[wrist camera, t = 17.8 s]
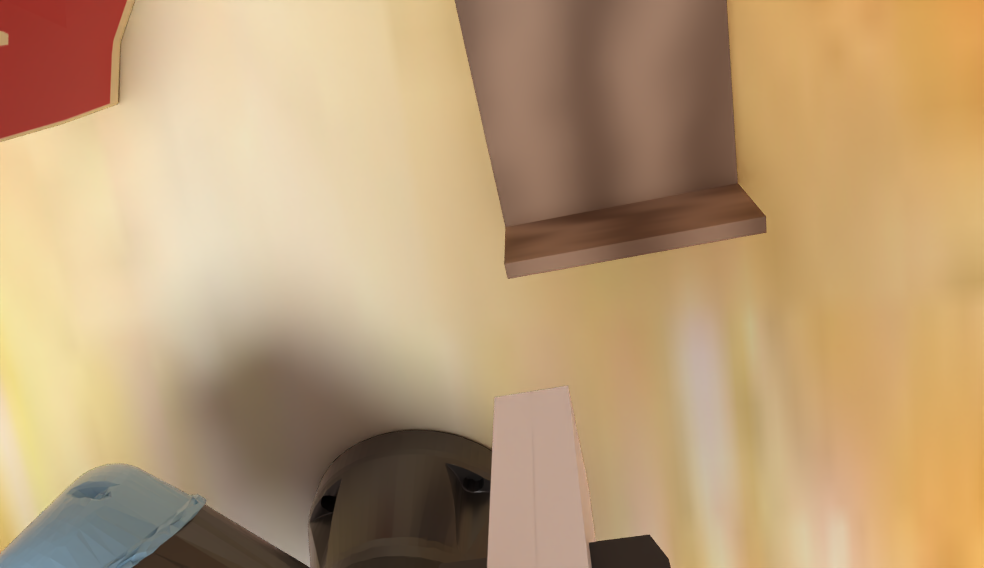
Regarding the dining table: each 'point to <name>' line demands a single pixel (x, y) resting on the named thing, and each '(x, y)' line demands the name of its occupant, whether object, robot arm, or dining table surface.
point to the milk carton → (58, 61)
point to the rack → (607, 127)
